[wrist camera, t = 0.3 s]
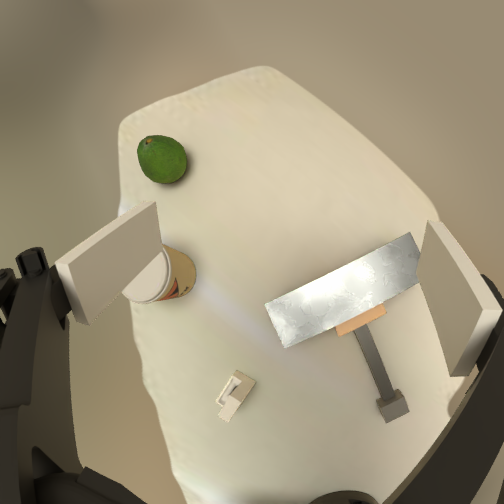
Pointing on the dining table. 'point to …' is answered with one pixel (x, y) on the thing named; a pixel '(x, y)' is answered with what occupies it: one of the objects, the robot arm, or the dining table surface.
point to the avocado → (162, 158)
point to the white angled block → (234, 394)
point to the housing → (345, 292)
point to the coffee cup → (162, 278)
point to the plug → (375, 362)
